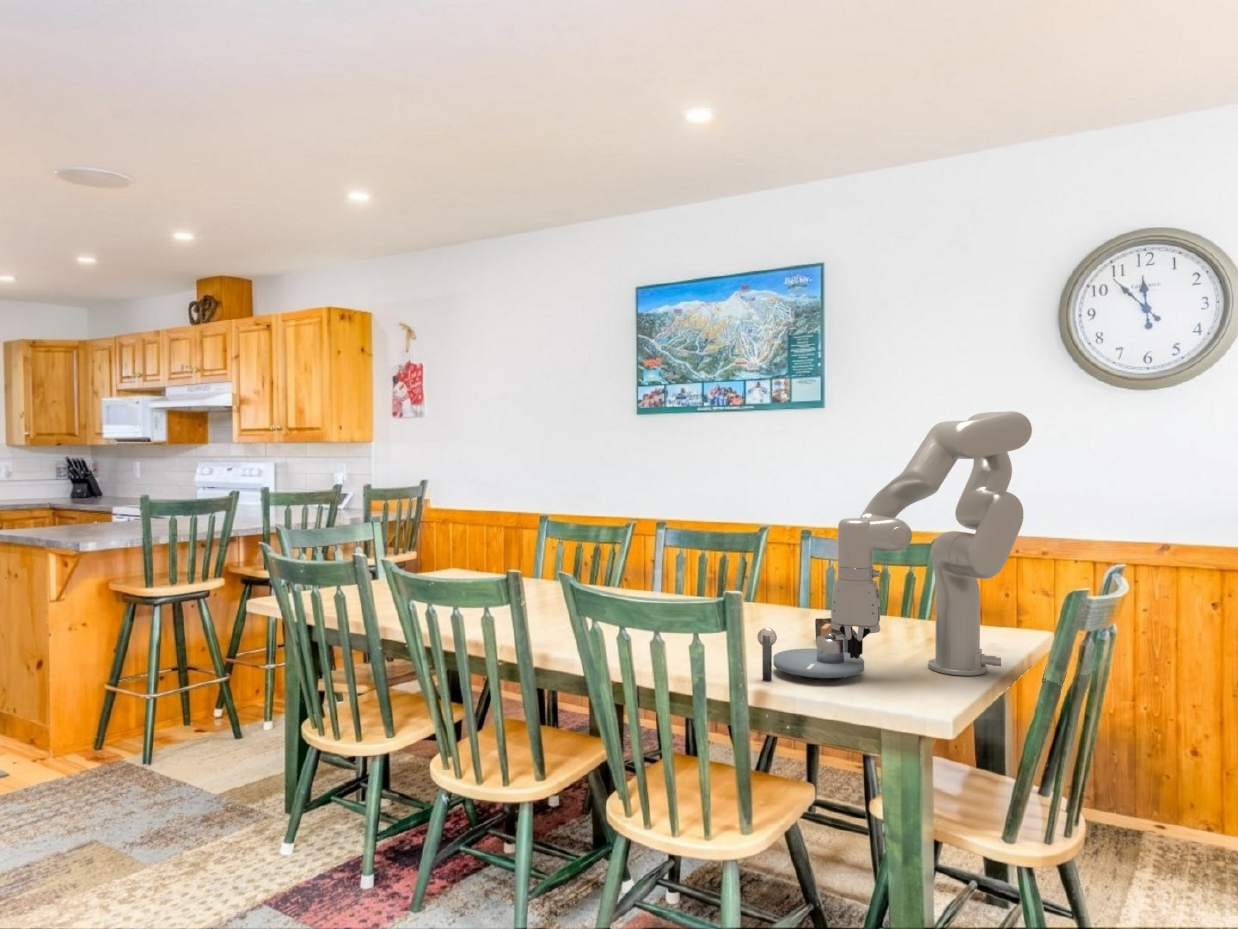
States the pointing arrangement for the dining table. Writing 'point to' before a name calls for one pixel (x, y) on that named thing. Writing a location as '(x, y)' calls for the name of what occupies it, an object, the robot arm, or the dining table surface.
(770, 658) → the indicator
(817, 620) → the beverage carton
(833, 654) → the cover
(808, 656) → the turntable
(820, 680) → the pedestal
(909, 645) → the dining table surface
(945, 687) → the dining table surface
